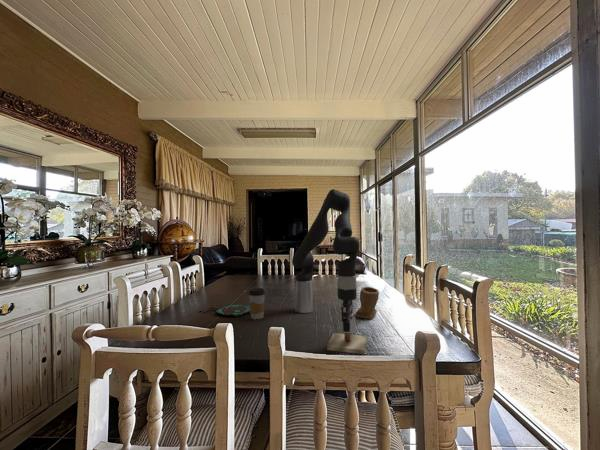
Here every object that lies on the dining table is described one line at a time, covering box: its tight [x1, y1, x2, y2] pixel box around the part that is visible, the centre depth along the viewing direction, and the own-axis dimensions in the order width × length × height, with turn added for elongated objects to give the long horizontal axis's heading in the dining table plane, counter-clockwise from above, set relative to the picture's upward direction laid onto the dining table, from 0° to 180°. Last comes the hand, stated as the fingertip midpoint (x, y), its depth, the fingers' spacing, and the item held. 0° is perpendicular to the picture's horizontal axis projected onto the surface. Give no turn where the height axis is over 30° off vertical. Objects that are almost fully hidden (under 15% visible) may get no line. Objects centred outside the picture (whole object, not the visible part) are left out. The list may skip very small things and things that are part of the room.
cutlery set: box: [215, 304, 251, 317], centre depth 164 cm, size 20×30×2 cm, turn 66°
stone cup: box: [355, 286, 380, 319], centre depth 151 cm, size 15×12×15 cm
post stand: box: [326, 317, 368, 355], centre depth 115 cm, size 14×14×10 cm
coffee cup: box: [248, 287, 266, 319], centre depth 150 cm, size 8×8×15 cm
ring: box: [339, 315, 357, 334], centre depth 115 cm, size 6×6×5 cm
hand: (347, 328), depth 115 cm, fingers closed on ring, 6 cm apart
